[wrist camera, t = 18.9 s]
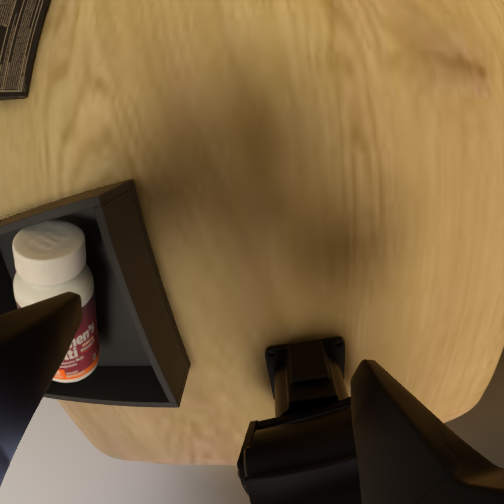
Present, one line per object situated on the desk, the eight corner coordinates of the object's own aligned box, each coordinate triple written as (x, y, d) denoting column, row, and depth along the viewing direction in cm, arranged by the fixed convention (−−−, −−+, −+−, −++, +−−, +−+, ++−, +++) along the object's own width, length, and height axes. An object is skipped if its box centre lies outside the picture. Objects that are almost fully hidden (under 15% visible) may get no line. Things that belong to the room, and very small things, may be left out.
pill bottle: (56, 397, 18) (19, 279, 13) (23, 346, 21) (-5, 230, 15) (115, 363, 23) (110, 247, 18) (78, 320, 26) (69, 209, 20)
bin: (190, 364, 26) (179, 407, 21) (54, 364, 28) (33, 395, 23) (133, 178, 20) (98, 195, 15) (-8, 223, 22) (-44, 243, 17)
